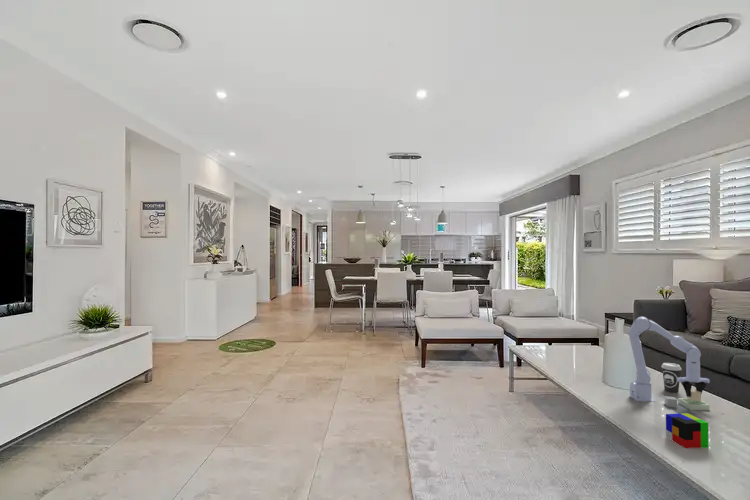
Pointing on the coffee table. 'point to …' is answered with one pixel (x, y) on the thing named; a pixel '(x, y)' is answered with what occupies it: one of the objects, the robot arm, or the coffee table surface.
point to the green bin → (693, 404)
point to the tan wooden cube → (695, 395)
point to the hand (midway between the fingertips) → (693, 396)
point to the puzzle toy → (687, 430)
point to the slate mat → (680, 410)
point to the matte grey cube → (670, 401)
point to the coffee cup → (671, 376)
